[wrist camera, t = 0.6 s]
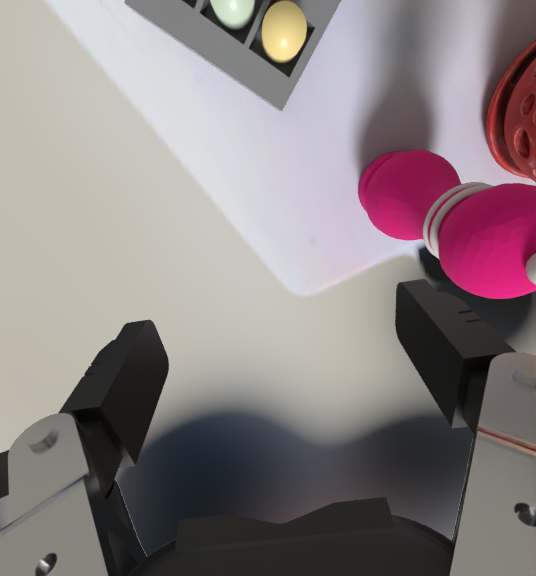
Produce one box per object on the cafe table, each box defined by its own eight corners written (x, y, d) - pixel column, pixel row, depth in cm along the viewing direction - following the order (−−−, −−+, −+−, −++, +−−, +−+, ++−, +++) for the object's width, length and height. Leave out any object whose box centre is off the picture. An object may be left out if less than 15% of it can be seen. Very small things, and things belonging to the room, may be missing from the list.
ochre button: (274, 3, 23) (276, -11, 21) (308, 30, 24) (315, 20, 21) (254, 47, 24) (253, 39, 22) (287, 72, 25) (291, 66, 23)
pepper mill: (364, 234, 33) (488, 366, 16) (343, 166, 30) (469, 235, 12) (433, 205, 32) (652, 312, 14) (420, 131, 29) (679, 153, 11)
